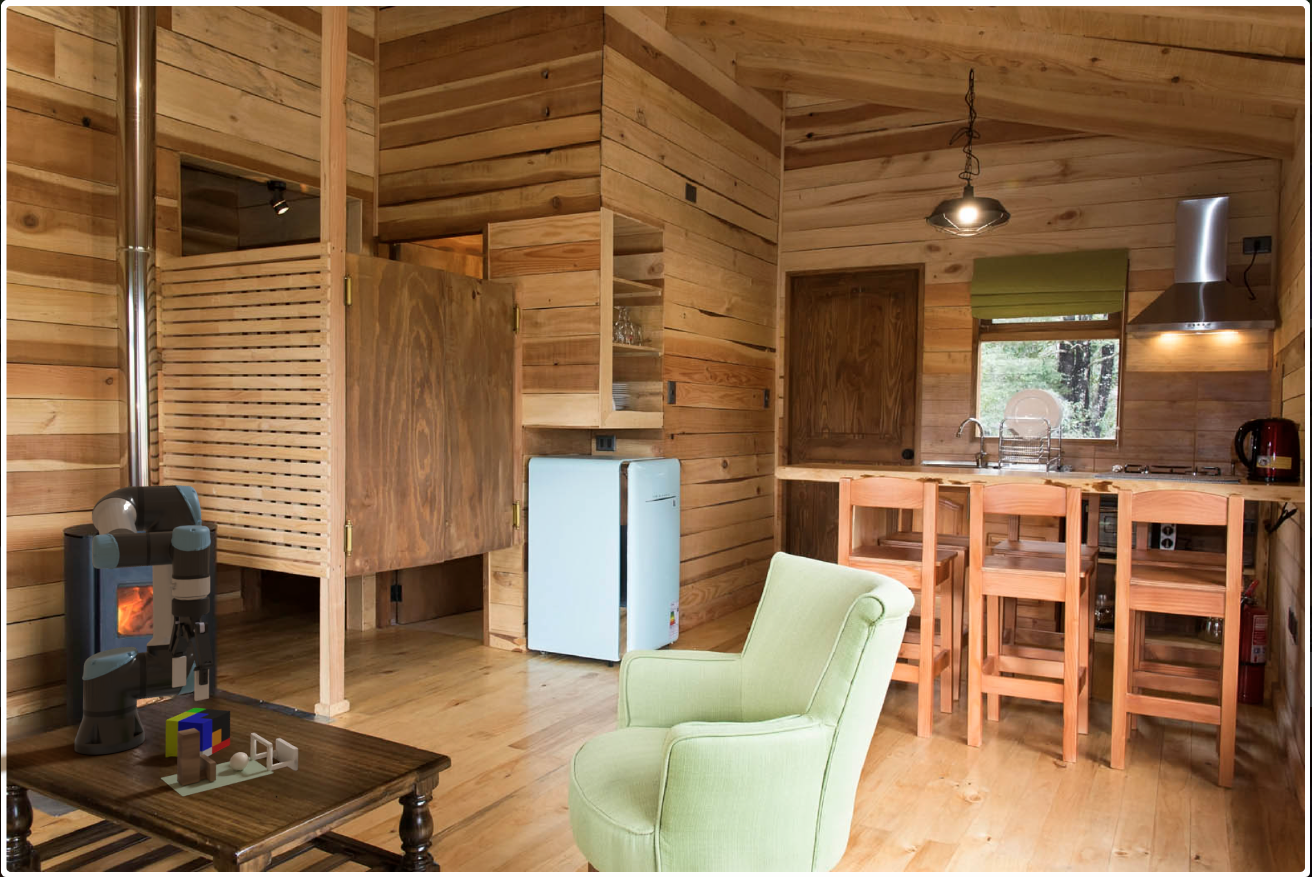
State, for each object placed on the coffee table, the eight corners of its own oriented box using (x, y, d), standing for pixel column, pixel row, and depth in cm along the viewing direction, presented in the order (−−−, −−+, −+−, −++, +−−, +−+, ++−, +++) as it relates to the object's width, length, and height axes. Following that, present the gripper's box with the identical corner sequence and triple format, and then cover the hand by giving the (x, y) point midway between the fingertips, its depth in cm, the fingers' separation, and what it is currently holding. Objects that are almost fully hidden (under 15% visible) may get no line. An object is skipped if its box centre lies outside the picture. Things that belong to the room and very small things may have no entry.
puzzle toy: (202, 765, 220) (202, 723, 220) (165, 762, 222) (165, 720, 222) (230, 751, 230) (230, 710, 230) (194, 747, 232) (194, 707, 232)
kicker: (174, 779, 207) (174, 729, 206) (204, 771, 211) (204, 723, 211) (185, 788, 202) (185, 737, 201) (216, 780, 206) (216, 731, 206)
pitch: (160, 784, 208) (160, 751, 208) (276, 756, 226) (276, 725, 226) (182, 803, 198) (182, 767, 198) (301, 772, 216) (301, 739, 216)
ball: (226, 770, 213) (227, 752, 213) (244, 765, 216) (244, 748, 216) (233, 774, 210) (233, 757, 210) (251, 770, 213) (251, 753, 213)
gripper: (153, 590, 211) (152, 684, 211) (193, 607, 193) (192, 708, 194) (188, 587, 216) (187, 678, 217) (230, 602, 199) (229, 701, 199)
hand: (190, 692), depth 205 cm, fingers open, 13 cm apart
